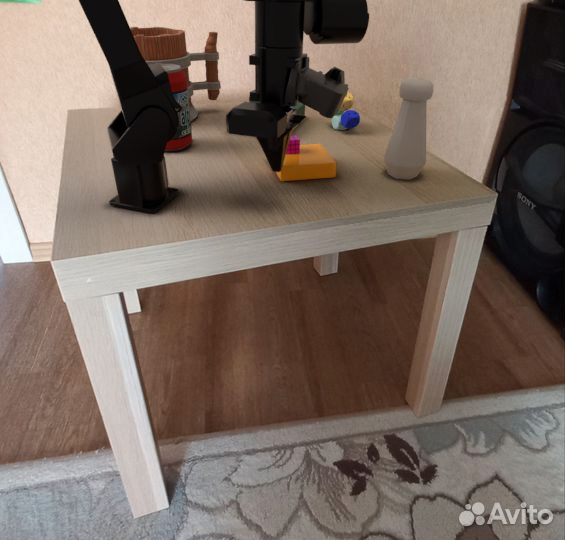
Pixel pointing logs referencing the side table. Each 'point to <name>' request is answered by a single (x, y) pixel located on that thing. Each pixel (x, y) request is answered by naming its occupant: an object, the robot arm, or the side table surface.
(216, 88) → the mug
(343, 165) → the side table surface
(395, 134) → the salt shaker
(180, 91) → the beverage can
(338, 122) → the dice
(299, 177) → the orange square block
